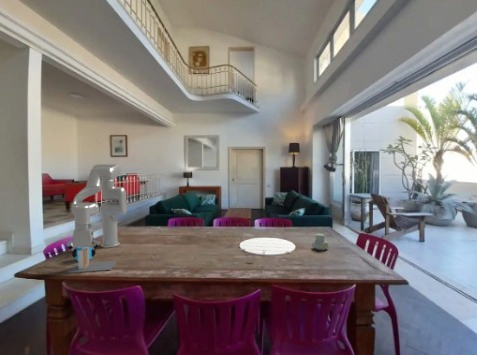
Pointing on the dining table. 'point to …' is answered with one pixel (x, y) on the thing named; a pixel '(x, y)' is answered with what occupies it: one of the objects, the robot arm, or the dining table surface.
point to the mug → (80, 249)
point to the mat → (94, 267)
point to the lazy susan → (267, 246)
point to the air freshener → (319, 242)
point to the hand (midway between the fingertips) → (84, 256)
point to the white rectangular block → (83, 258)
